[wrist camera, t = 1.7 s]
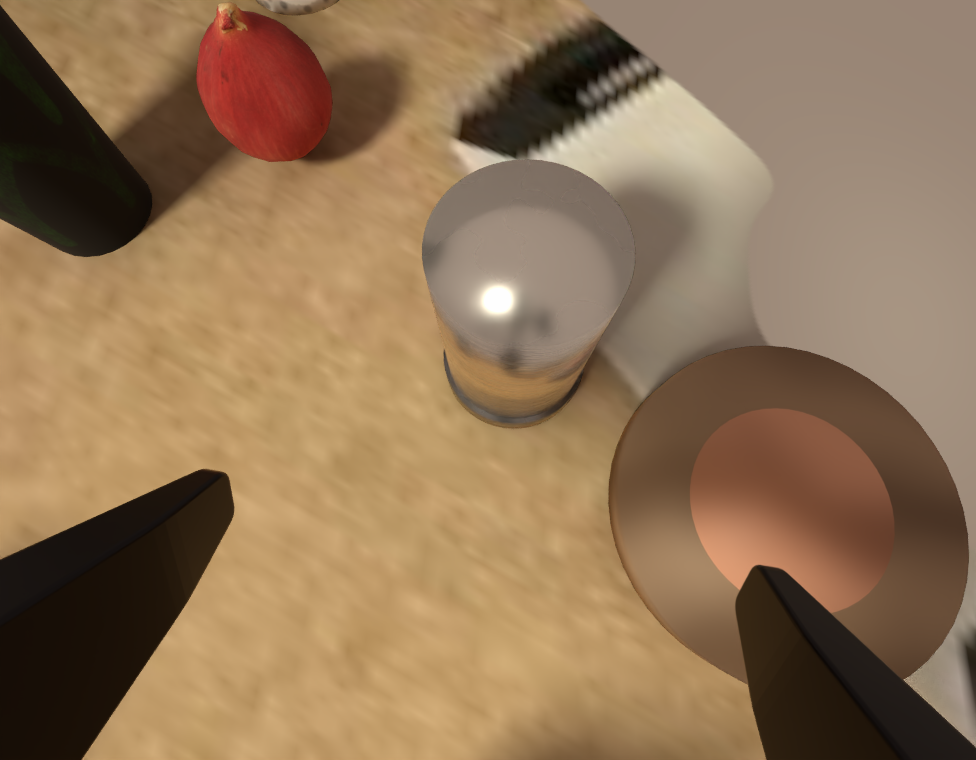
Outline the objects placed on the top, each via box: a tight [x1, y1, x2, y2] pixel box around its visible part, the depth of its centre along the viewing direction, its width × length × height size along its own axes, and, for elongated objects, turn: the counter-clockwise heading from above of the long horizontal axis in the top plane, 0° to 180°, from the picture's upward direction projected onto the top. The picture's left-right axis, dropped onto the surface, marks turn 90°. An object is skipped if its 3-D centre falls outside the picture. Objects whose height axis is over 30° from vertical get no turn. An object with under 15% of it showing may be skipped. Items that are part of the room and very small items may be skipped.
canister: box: [422, 160, 635, 429], centre depth 19 cm, size 6×6×10 cm
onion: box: [196, 2, 333, 162], centre depth 23 cm, size 6×6×8 cm
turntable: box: [608, 346, 969, 684], centre depth 20 cm, size 13×13×3 cm
